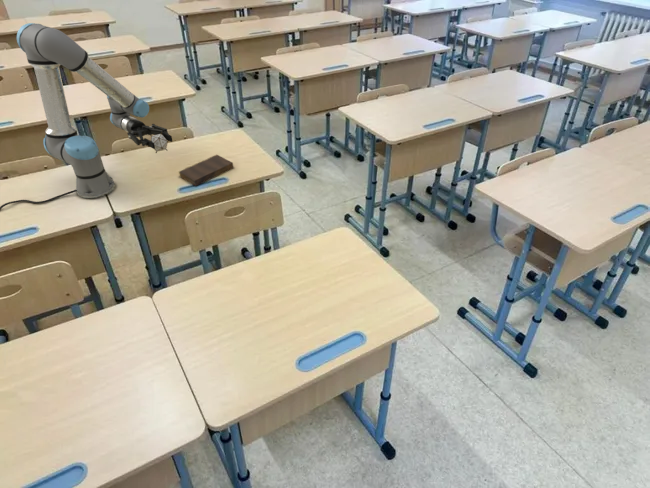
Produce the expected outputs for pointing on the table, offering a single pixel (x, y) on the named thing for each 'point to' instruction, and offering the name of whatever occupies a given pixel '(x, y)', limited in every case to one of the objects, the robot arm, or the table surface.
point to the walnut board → (206, 170)
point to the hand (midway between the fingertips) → (162, 142)
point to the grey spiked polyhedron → (159, 142)
